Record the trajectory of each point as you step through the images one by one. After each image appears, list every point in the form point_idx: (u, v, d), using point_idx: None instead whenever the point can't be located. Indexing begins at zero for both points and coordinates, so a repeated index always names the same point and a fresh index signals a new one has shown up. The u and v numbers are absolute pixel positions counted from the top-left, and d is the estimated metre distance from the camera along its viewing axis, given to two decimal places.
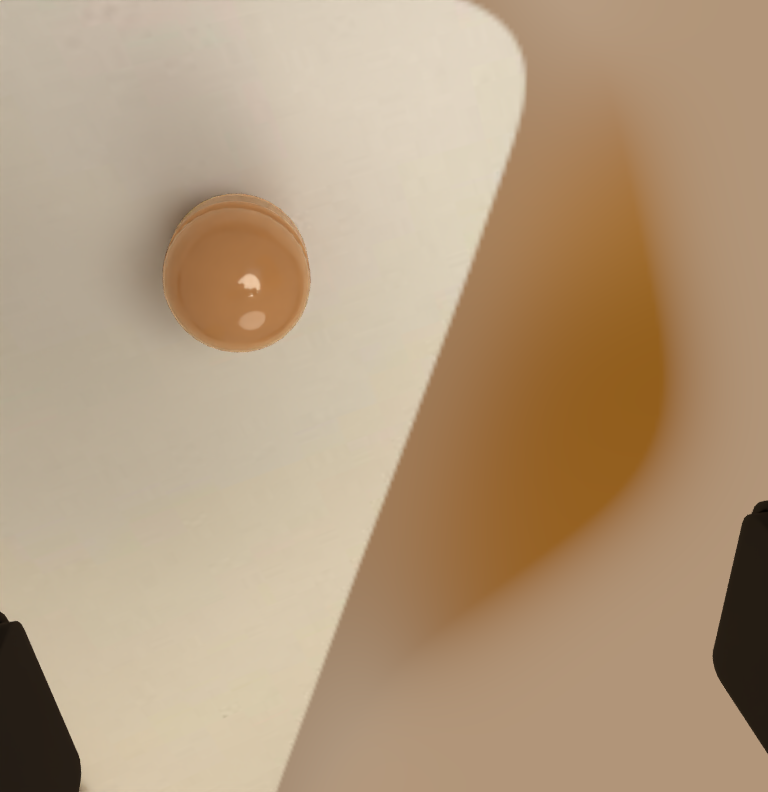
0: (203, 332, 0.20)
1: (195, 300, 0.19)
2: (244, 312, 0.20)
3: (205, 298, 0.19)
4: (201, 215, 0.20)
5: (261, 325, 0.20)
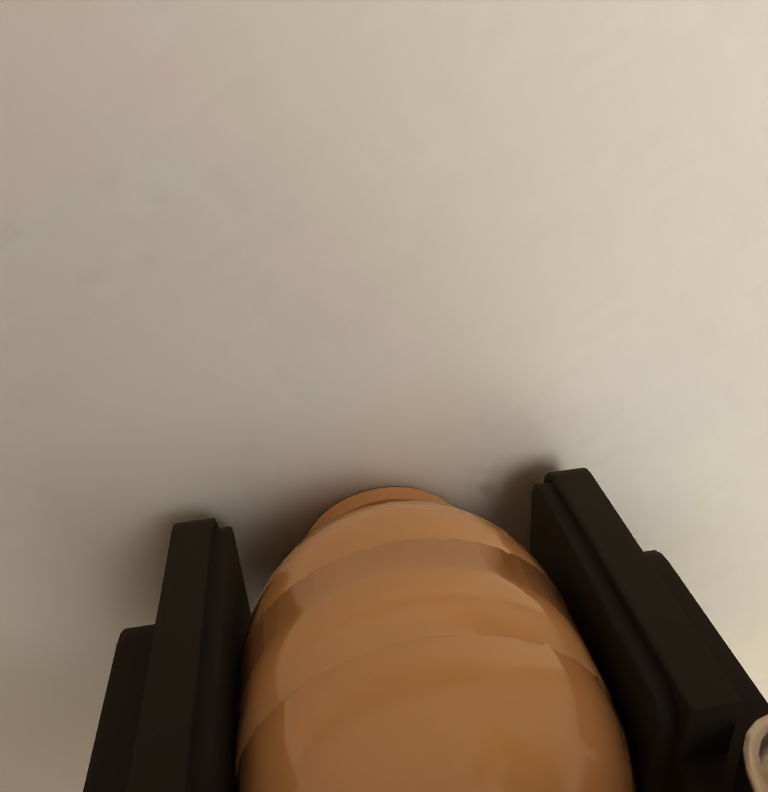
0: None
1: None
2: None
3: None
4: (290, 698, 0.07)
5: None
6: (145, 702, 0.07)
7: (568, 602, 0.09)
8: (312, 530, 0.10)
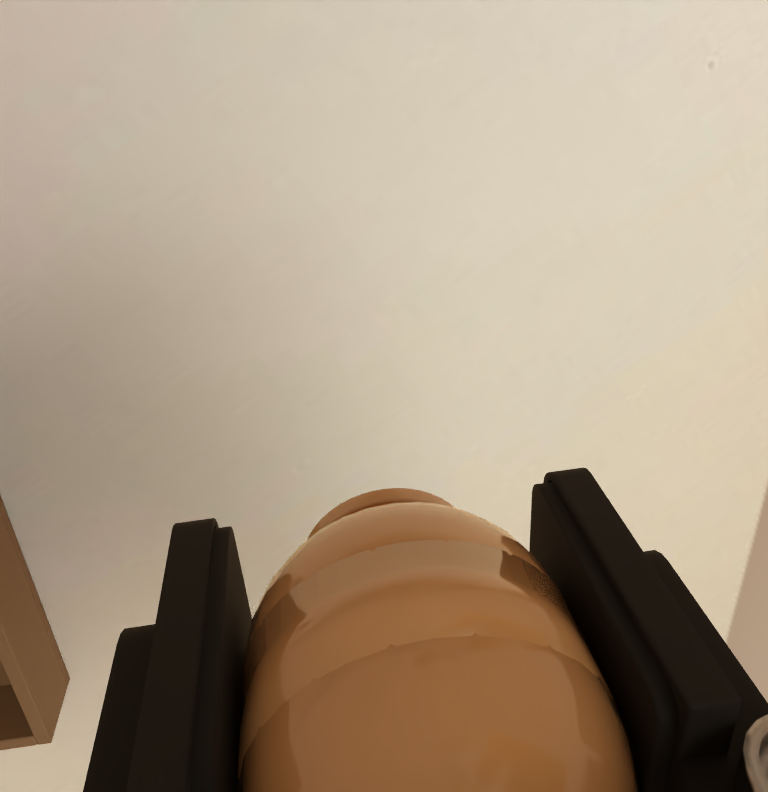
0: None
1: None
2: None
3: None
4: (293, 699, 0.07)
5: None
6: (145, 702, 0.07)
7: (568, 602, 0.09)
8: (314, 531, 0.10)
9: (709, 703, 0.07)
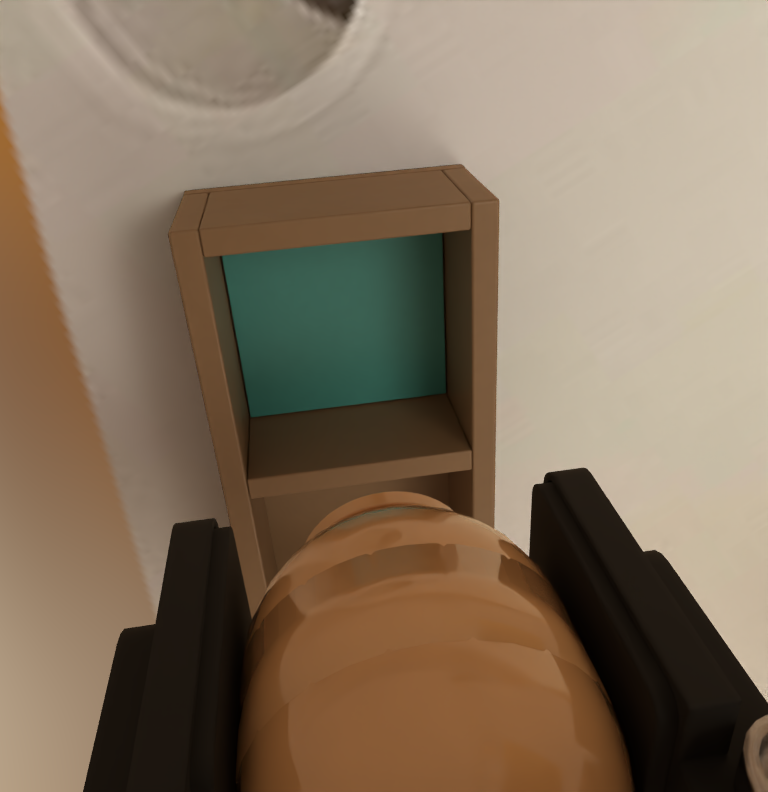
0: None
1: None
2: None
3: None
4: (290, 704, 0.07)
5: None
6: (145, 702, 0.07)
7: (568, 602, 0.09)
8: (313, 534, 0.10)
9: (709, 703, 0.07)
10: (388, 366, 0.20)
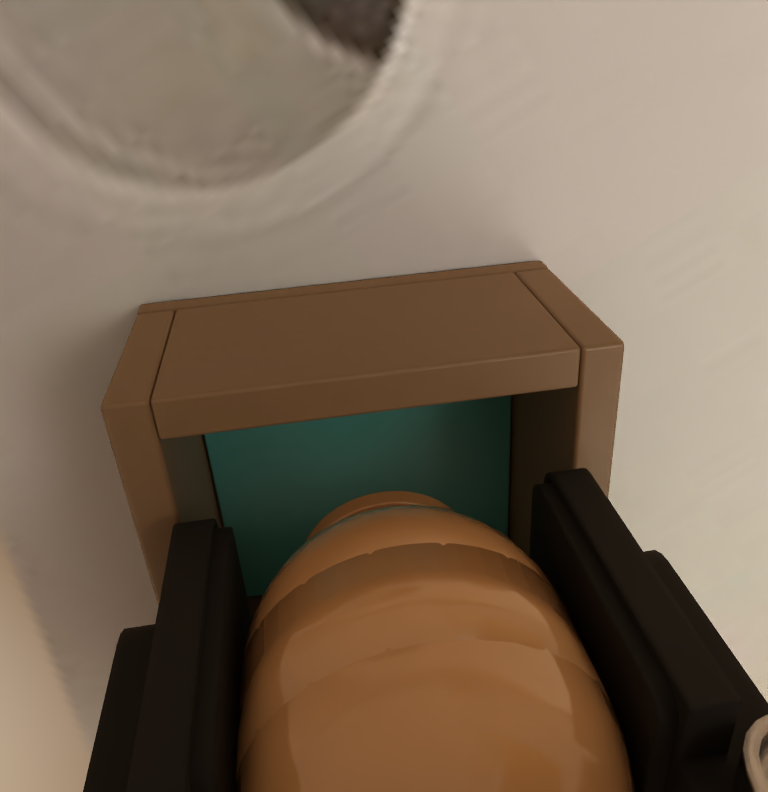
0: None
1: None
2: None
3: None
4: (290, 703, 0.07)
5: None
6: (145, 702, 0.07)
7: (568, 602, 0.09)
8: (313, 534, 0.10)
9: (709, 703, 0.07)
10: None
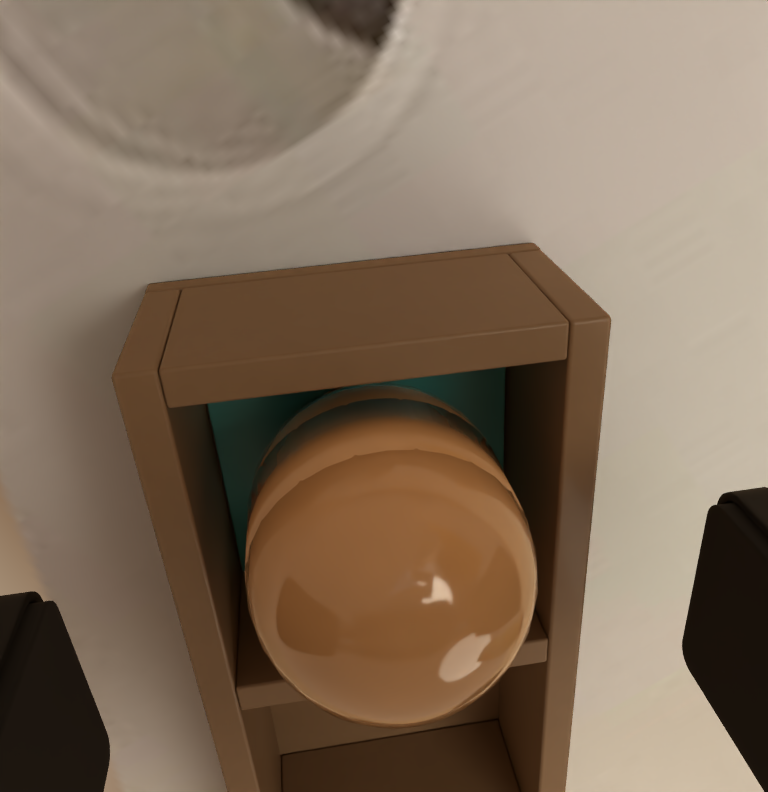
0: (365, 724, 0.10)
1: (331, 691, 0.09)
2: (438, 688, 0.09)
3: (350, 688, 0.09)
4: (285, 496, 0.10)
5: (477, 688, 0.09)
6: None
7: (767, 633, 0.08)
8: None
9: None
10: None
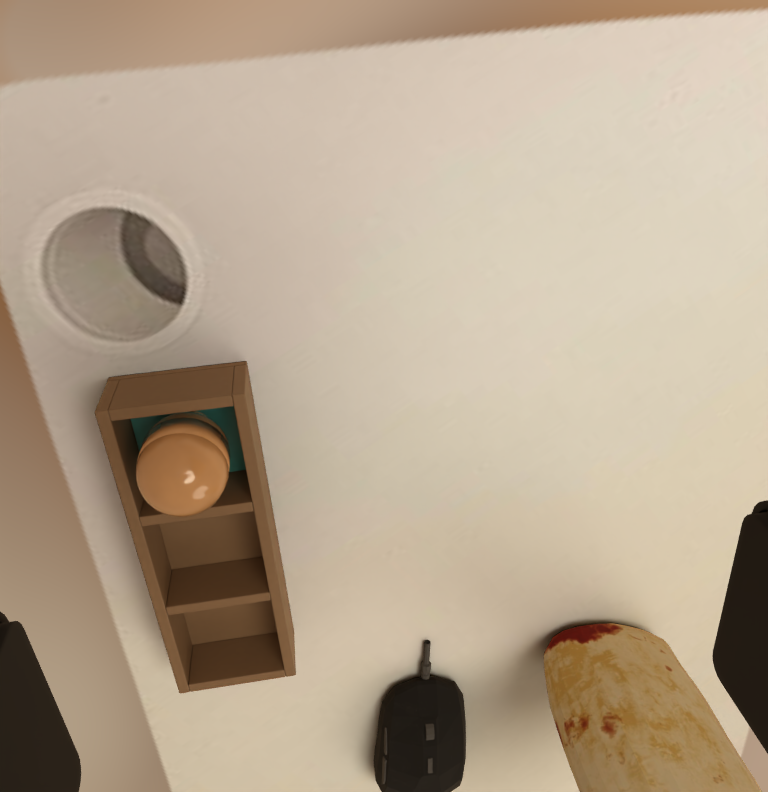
0: (169, 514, 0.33)
1: (156, 500, 0.32)
2: (185, 499, 0.32)
3: (160, 498, 0.32)
4: (146, 446, 0.33)
5: (198, 501, 0.33)
6: None
7: None
8: None
9: None
10: None
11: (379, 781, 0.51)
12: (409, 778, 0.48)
